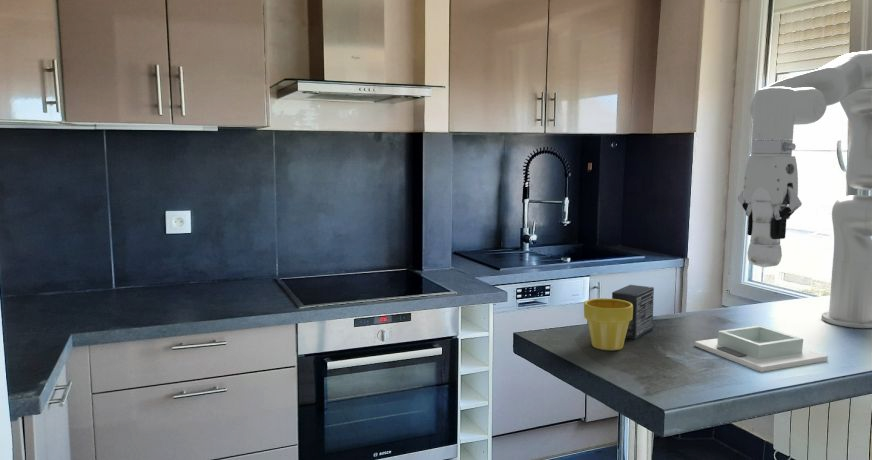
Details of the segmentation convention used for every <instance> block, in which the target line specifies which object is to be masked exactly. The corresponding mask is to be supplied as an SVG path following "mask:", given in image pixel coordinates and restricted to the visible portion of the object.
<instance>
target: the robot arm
mask: <svg viewBox="0 0 872 460" xmlns="http://www.w3.org/2000/svg"><path fill="white" fill-rule="evenodd" d="M838 103H840V106H841V107H842V109H843V111H844V113H845V115H846V117H847V119H848V122H849V124H850V126H851V127H850V129H851V140H850V145H849V146H850V148H849V152H848V158H847V165H846V171H845V179H846V180H845V181H846V184H847V185H848V186H849V187H850V188H852V189H856V190H861V191H872V50H867V51H866V50H865V51H857V52H856V51H855V52H851V53H846V54H843V55H841V56H839V57H837V58H835V59H834V60H832V61H830V62H828V63H827V64H825V65H823V66H822V67H819V68H818V69H814V70H810V71H807V72H804V73H800V74H798V75H795V76H792V77H787V78H784V79H781V80H778V81H776V82H773V83H771V84H769V85H767V86H765V87H763V88H760V89H757V91H756V92H755V93H754V96H753V98H752V99H751V102H750V104H749V114H750V117H751V119H752V125H751V145H750V155H749V156H748V159H747V163H746V167H745V172H744V178H743V188H742V192H741V193H740V194H739V195H738V197H737V201H738V202H739V204H740V205H741V206H742V208H743V210H744V211H745V217H747V233H746V235H747V236H751V234H752V223H753V221H752V204H751V202H752V200H751V195H752V192H753V191H754V190H755V189H756V188H757V187H763V188H765V189H766V190H767V191H768V192H769V194H770V196H771V204H773V205H774V215H775V219H774V220H773V221H772V232H771V238H772V239H780V240H783V239H786V233H787V231H786V230H787V220H789V219H791V216H792V215H793V214H794V213H795V211H796V210H798V209H799V208H800V207H801V206H802V203H803V202H802V201H801V200H800V198H799V196H798V195H799V174H798V163H797V159H796V156H795V155H793V154H792V153H793V151H795V149H796V143H794V140H793V139H794V128H795V127H794V125H796V126H797V125H798V126H799V125H809V124H813V123H816V122H818V121H819V120H820V119H821V118H823V117H824V114H825V113H826V110H827V107H828V106H832V105H835V104H838ZM783 201H784V202H783ZM782 203H783V204H782ZM780 207H782V211H781V210H780ZM831 221H832V227H833V256H832V257H833V258H832V267H831V281H830V282H831V283H830V293H829V304H828V305H829V307H828V311H825V312H822V313H821V320H822V321H824V322H826V323H828V324H832V325H834V326H835V325H836V326H839V327H846V328H853V329H872V238H871V237H872V195H862V194H861V195H860V194H854V195H853V194H852V195H845V196H842V197H840V198H839V199H837V200H836V201H835V202H834V204H833V206H832V209H831Z"/></svg>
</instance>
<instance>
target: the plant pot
mask: <svg viewBox="0 0 872 460" xmlns="http://www.w3.org/2000/svg"><path fill="white" fill-rule="evenodd" d="M583 316H584V318H585V319H586V320H587V325H588V326H587V327H588V331H589V336H590V341H591V346H592V347H593V348H595V349H597V350H602V351H619V350H622V349H623V347H624V344H625V340H626V337H625V336H626V332H627V328H628V324H629V321H631V320H632V317H633V305H632V303H630V302H628V301H624V300H618V299H612V298H603V297H602V298H599V297H598V298H591V299H588V300H585V301H584V303H583Z"/></svg>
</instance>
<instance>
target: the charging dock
mask: <svg viewBox="0 0 872 460" xmlns="http://www.w3.org/2000/svg"><path fill="white" fill-rule="evenodd" d="M803 343H804V338H801V337H798V336H795V335H793V334H792V335H791V334H788V333H786V332H782V331H779V330H776V329H773V328H769V327H766V326H762V325H752V326H747V327H746V326H745V327H738V328H731V329H730V328H729V329H723V330H718V331H717V338H711V339H703V340H695V341H694V347H695V348H696V347H697V348H699V349H701V350H703V351H704V350H705V351H707V352H710V353H711V354H714V355H717V356H719V357H722V358H724V359H727V360H730V361H732V362H735V363H738V364H740V365H742V366H745V367H747V368H749V369H753V370H755V371H757V372H761V373H762V372H768V371H774V370H781V369H787V368H792V367H797V366H798V367H799V366H803V365H804V366H805V365H810V364H811V365H812V364H816V363H817V364H818V363H823V362H827V361H828V359H829V357H828V355H825V354H822V353H820V352H816V351H813V350H811V349H807V348H804V347H803Z"/></svg>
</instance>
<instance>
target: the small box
mask: <svg viewBox="0 0 872 460" xmlns="http://www.w3.org/2000/svg"><path fill="white" fill-rule="evenodd" d="M654 289H655V288H654V287H653V286H643V285H635V284H629V285H627V286H623V287H621V288H619V289H617V290H615V291H613V292H611V299H618V300H624V301H628V302H630V303H632V305H633V317H632V320H631V321H629V324H628V328H627V332H626V336H625V339H633V340H637V339H639V338H640V337H643V336H644V335H646V334H648V333H649V332H651V331H653V330H654V295H655V294H654Z"/></svg>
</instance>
